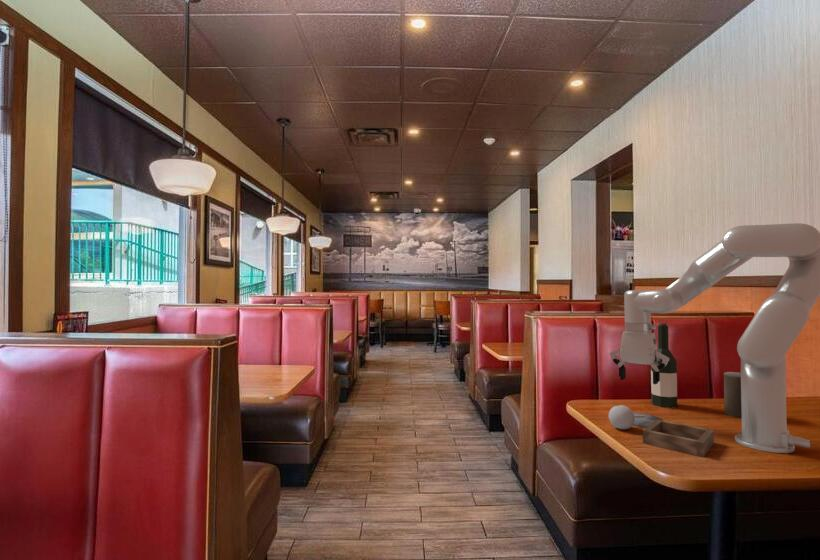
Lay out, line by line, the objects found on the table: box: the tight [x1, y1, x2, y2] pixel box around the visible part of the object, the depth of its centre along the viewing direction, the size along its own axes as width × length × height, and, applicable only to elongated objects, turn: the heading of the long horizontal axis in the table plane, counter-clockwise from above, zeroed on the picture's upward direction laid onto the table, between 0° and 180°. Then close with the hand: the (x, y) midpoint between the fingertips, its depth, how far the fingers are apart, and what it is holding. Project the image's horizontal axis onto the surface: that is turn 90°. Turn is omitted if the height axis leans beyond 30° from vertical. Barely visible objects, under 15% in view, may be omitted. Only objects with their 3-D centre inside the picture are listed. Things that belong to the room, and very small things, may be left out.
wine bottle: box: [650, 322, 678, 409], centre depth 156 cm, size 8×8×30 cm
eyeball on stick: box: [608, 404, 645, 431], centre depth 132 cm, size 7×7×15 cm
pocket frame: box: [642, 419, 715, 458], centre depth 118 cm, size 14×14×4 cm
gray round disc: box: [632, 412, 663, 428], centre depth 138 cm, size 14×14×1 cm
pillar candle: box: [723, 370, 742, 419], centre depth 144 cm, size 10×10×15 cm
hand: (638, 381), depth 138 cm, fingers open, 9 cm apart
